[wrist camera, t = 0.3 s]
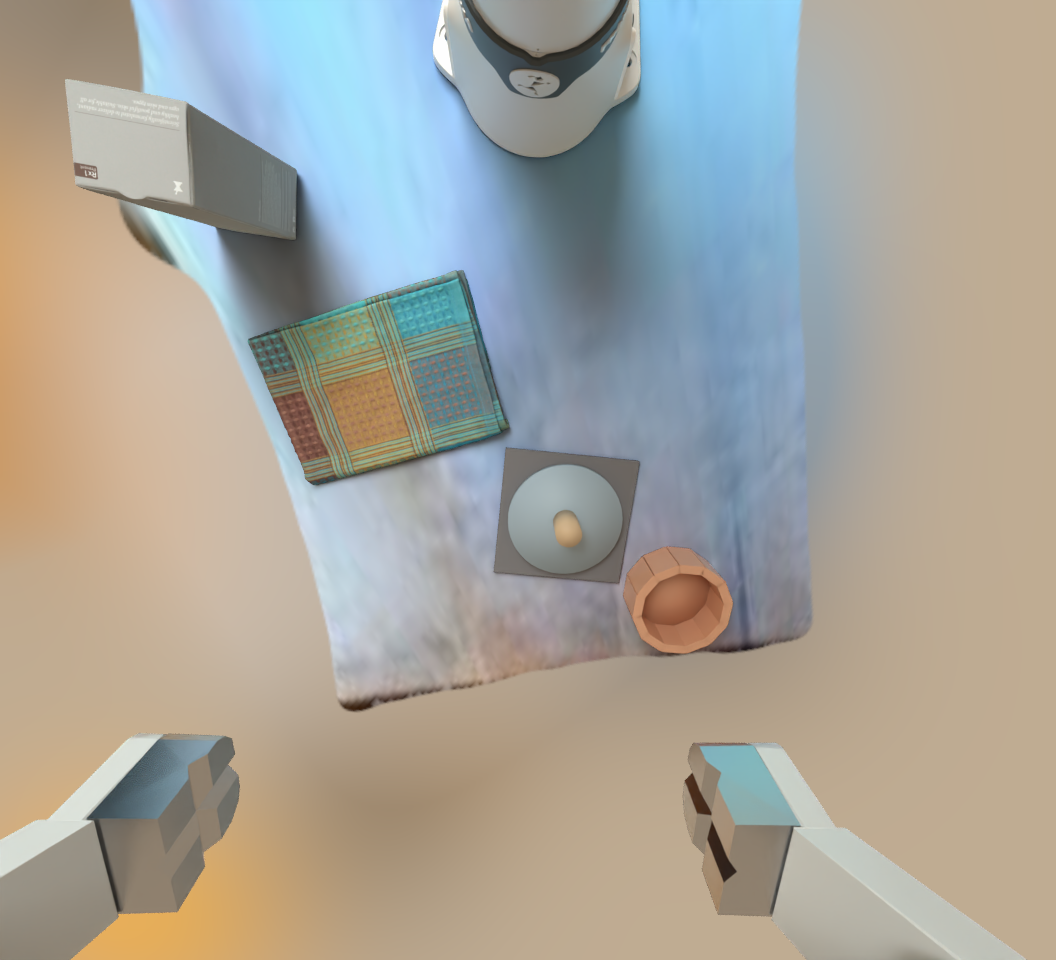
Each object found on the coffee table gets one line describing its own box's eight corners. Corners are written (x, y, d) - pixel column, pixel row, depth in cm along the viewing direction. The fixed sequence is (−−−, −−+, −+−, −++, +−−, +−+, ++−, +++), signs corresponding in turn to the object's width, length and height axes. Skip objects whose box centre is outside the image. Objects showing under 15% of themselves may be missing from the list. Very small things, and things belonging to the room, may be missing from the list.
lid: (513, 458, 54) (513, 469, 49) (629, 469, 55) (640, 482, 50) (503, 564, 58) (501, 585, 53) (611, 574, 58) (620, 595, 53)
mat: (506, 447, 54) (505, 448, 54) (638, 460, 55) (639, 462, 54) (494, 569, 58) (493, 571, 58) (617, 580, 59) (618, 582, 59)
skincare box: (300, 170, 47) (195, 87, 31) (297, 250, 48) (196, 209, 33) (209, 153, 46) (56, 60, 31) (209, 235, 48) (66, 185, 33)
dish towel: (512, 429, 54) (512, 433, 52) (316, 486, 56) (307, 492, 53) (465, 269, 50) (462, 265, 47) (251, 335, 51) (238, 335, 49)
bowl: (632, 543, 58) (642, 561, 53) (722, 551, 58) (741, 570, 54) (617, 624, 61) (626, 648, 56) (704, 631, 61) (719, 656, 57)
